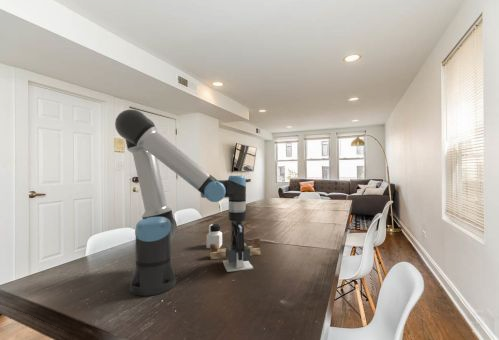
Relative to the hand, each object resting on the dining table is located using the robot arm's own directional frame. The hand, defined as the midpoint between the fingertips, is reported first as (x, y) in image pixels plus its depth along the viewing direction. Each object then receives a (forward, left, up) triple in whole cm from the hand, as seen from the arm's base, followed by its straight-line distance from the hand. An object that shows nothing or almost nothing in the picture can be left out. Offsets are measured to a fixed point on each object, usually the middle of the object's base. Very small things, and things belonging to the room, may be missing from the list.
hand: (237, 263), depth 105 cm
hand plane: (+13, -2, -1) cm, 13 cm away
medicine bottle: (+30, +6, -1) cm, 31 cm away
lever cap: (0, 0, +2) cm, 2 cm away
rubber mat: (0, 0, -1) cm, 1 cm away
